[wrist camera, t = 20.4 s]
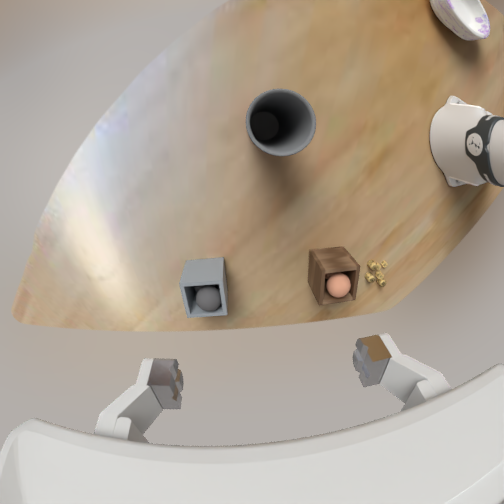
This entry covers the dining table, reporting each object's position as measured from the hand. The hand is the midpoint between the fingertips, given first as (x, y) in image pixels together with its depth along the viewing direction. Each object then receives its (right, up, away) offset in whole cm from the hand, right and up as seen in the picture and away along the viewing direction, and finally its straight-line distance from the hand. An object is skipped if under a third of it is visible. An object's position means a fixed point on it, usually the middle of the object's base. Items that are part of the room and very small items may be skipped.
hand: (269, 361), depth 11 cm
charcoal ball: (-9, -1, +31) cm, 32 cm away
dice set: (+23, +1, +39) cm, 45 cm away
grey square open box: (-9, +1, +36) cm, 37 cm away
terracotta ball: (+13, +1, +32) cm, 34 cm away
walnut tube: (+12, +3, +36) cm, 39 cm away
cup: (+1, +23, +26) cm, 35 cm away
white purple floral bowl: (+40, +55, +14) cm, 69 cm away
